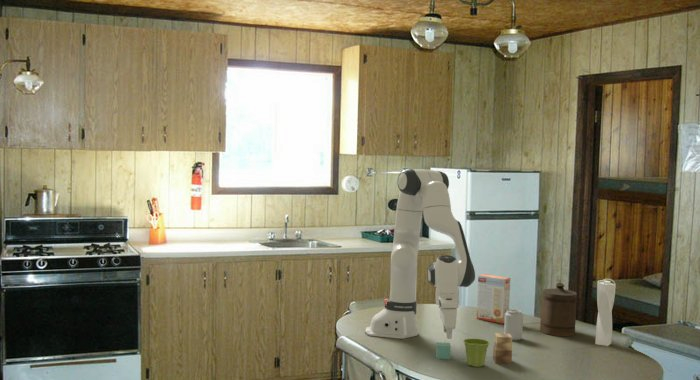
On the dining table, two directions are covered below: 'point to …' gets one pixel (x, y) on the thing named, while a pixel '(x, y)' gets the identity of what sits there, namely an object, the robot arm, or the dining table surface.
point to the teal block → (443, 350)
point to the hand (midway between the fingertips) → (447, 335)
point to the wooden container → (558, 311)
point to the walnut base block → (502, 356)
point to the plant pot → (476, 351)
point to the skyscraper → (604, 311)
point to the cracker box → (493, 298)
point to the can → (513, 324)
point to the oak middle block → (503, 342)
